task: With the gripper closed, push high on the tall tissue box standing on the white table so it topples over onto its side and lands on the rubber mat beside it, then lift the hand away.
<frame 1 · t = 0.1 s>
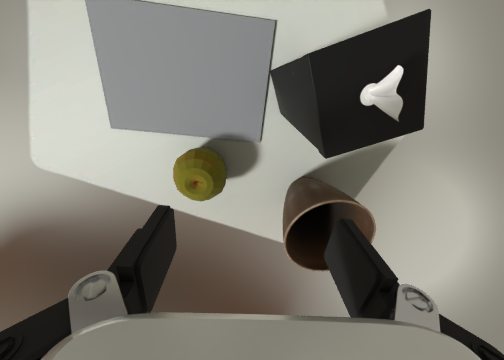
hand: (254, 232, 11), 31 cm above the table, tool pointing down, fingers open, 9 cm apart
apple: (205, 163, 43), on the table
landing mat: (186, 79, 35), on the table
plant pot: (303, 190, 47), on the table
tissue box: (295, 86, 37), on the table
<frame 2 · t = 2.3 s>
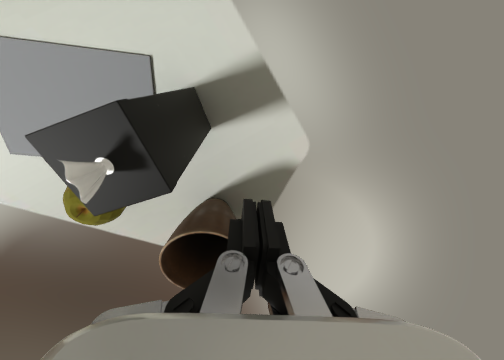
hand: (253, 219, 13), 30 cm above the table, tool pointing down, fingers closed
apple: (113, 185, 44), on the table
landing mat: (75, 109, 37), on the table
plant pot: (215, 209, 48), on the table
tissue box: (184, 115, 38), on the table
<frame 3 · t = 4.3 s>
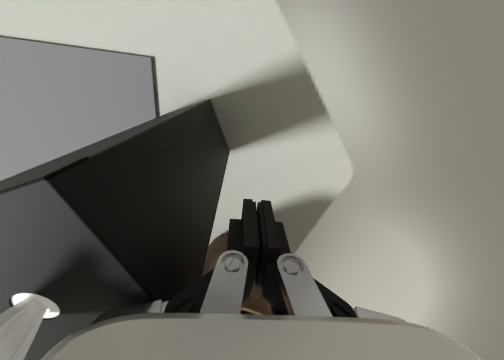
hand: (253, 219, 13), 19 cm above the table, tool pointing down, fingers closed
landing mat: (51, 126, 28), on the table
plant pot: (229, 247, 39), on the table
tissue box: (196, 134, 29), on the table, touching gripper
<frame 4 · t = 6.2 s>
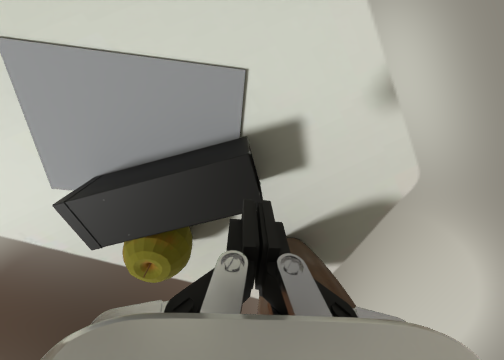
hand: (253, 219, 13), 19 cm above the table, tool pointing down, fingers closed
apple: (171, 223, 36), on the table
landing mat: (138, 135, 29), on the table
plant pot: (288, 249, 40), on the table
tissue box: (257, 169, 27), point 4 cm above the table, touching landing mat
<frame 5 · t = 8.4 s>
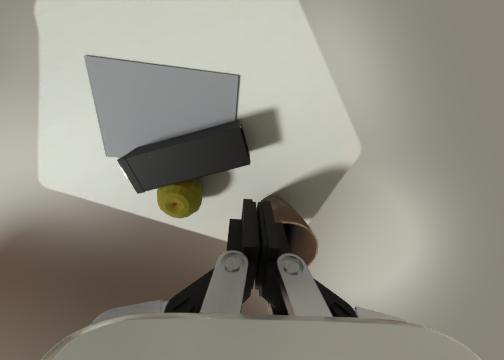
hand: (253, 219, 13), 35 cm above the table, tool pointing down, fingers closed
apple: (186, 184, 51), on the table
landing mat: (167, 118, 43), on the table
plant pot: (271, 206, 54), on the table
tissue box: (246, 140, 42), point 4 cm above the table, touching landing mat
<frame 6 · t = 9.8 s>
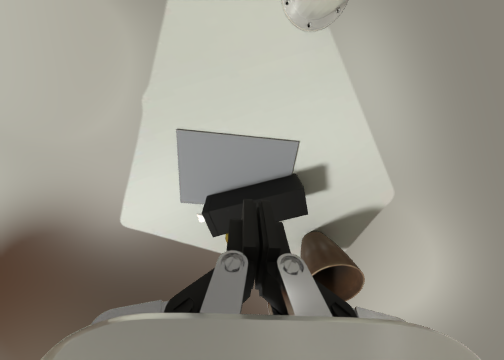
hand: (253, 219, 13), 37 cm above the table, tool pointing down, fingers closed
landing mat: (235, 173, 52), on the table
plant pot: (313, 239, 63), on the table
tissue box: (303, 193, 50), point 4 cm above the table, touching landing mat
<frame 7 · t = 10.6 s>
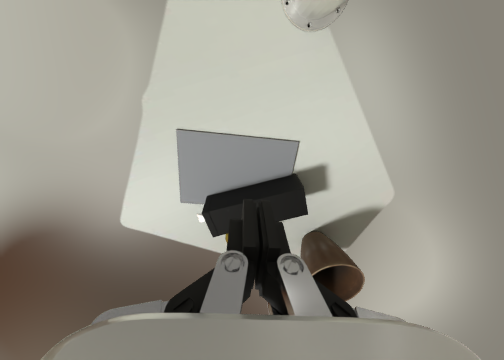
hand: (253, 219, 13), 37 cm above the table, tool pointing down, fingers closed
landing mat: (235, 173, 52), on the table
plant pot: (313, 239, 63), on the table
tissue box: (303, 193, 50), point 4 cm above the table, touching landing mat
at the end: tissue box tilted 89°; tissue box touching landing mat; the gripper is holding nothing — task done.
